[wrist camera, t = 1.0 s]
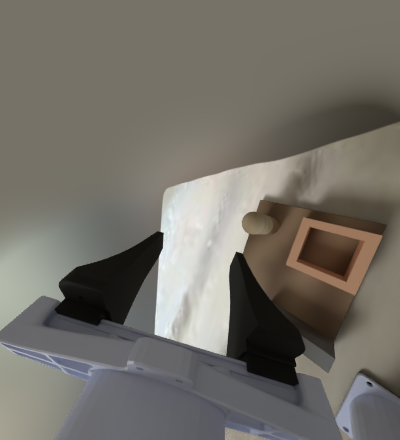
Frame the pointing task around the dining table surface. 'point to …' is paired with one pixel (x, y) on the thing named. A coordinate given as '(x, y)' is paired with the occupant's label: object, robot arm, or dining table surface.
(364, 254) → the socket block
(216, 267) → the dining table surface
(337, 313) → the base board
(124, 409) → the robot arm
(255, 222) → the dowel
